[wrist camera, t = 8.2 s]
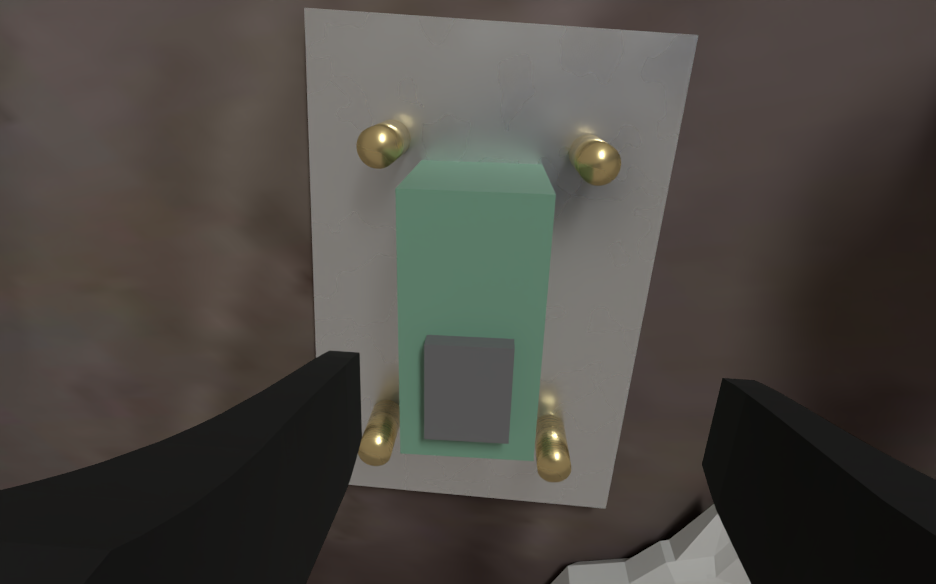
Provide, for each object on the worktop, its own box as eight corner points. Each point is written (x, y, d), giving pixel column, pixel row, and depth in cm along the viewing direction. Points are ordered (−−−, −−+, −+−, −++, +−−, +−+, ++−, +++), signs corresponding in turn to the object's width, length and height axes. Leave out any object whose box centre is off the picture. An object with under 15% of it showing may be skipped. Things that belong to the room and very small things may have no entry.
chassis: (688, 37, 18) (729, 29, 15) (601, 491, 25) (617, 556, 21) (314, 11, 18) (273, -3, 15) (326, 466, 25) (300, 526, 22)
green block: (542, 164, 19) (558, 199, 13) (526, 377, 22) (534, 474, 16) (421, 160, 19) (391, 193, 14) (421, 372, 22) (397, 466, 17)
